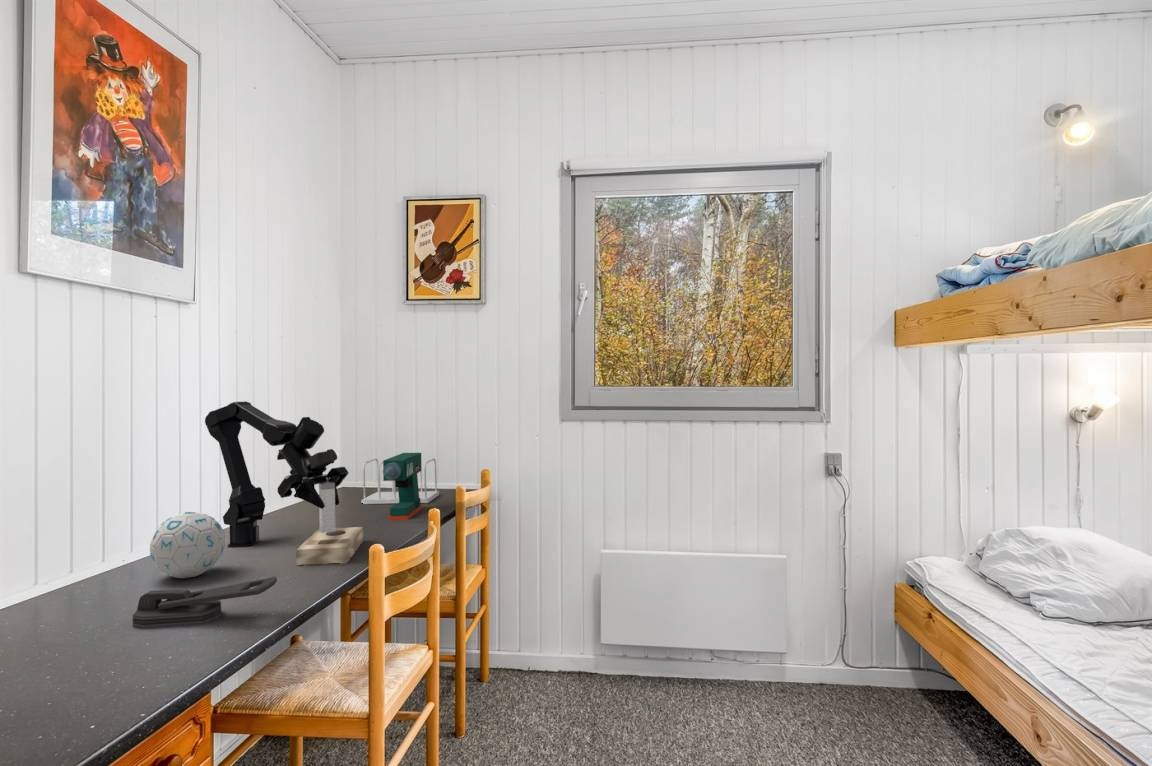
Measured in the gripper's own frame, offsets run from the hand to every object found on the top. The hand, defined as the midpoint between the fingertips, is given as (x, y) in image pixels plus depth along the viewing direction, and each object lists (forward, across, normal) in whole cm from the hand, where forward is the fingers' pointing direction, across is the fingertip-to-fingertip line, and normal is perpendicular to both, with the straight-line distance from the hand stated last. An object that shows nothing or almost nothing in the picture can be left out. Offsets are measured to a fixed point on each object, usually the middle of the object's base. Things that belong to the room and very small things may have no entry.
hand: (330, 505), depth 160 cm
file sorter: (-17, +69, +37) cm, 80 cm away
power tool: (-2, +44, +21) cm, 48 cm away
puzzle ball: (-4, -25, +23) cm, 34 cm away
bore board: (+7, +4, +12) cm, 15 cm away
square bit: (+4, 0, +6) cm, 7 cm away
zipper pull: (+17, -40, +3) cm, 43 cm away
